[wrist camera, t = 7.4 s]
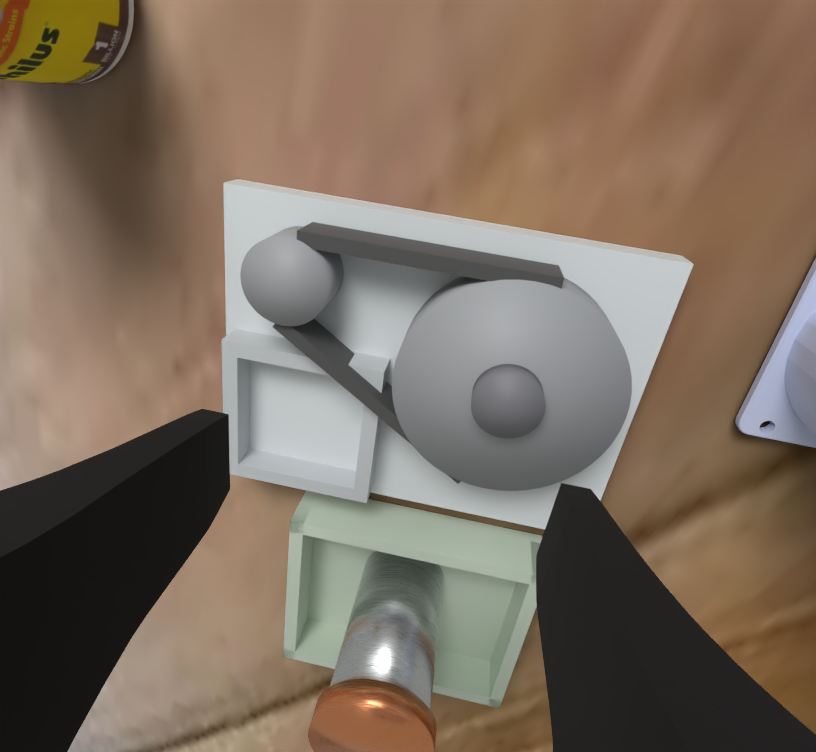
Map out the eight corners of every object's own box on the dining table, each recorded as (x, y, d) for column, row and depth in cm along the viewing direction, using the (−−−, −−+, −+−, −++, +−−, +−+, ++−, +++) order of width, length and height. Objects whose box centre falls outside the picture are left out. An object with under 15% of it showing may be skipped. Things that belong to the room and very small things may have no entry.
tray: (542, 535, 24) (547, 577, 22) (499, 662, 28) (499, 708, 26) (308, 485, 25) (290, 521, 23) (299, 616, 29) (283, 656, 27)
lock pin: (440, 537, 25) (419, 706, 18) (457, 607, 26) (445, 786, 19) (348, 543, 26) (292, 706, 19) (371, 610, 27) (328, 782, 20)
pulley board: (681, 256, 18) (727, 288, 15) (581, 519, 24) (596, 590, 20) (238, 179, 19) (180, 192, 16) (240, 447, 25) (197, 502, 21)
